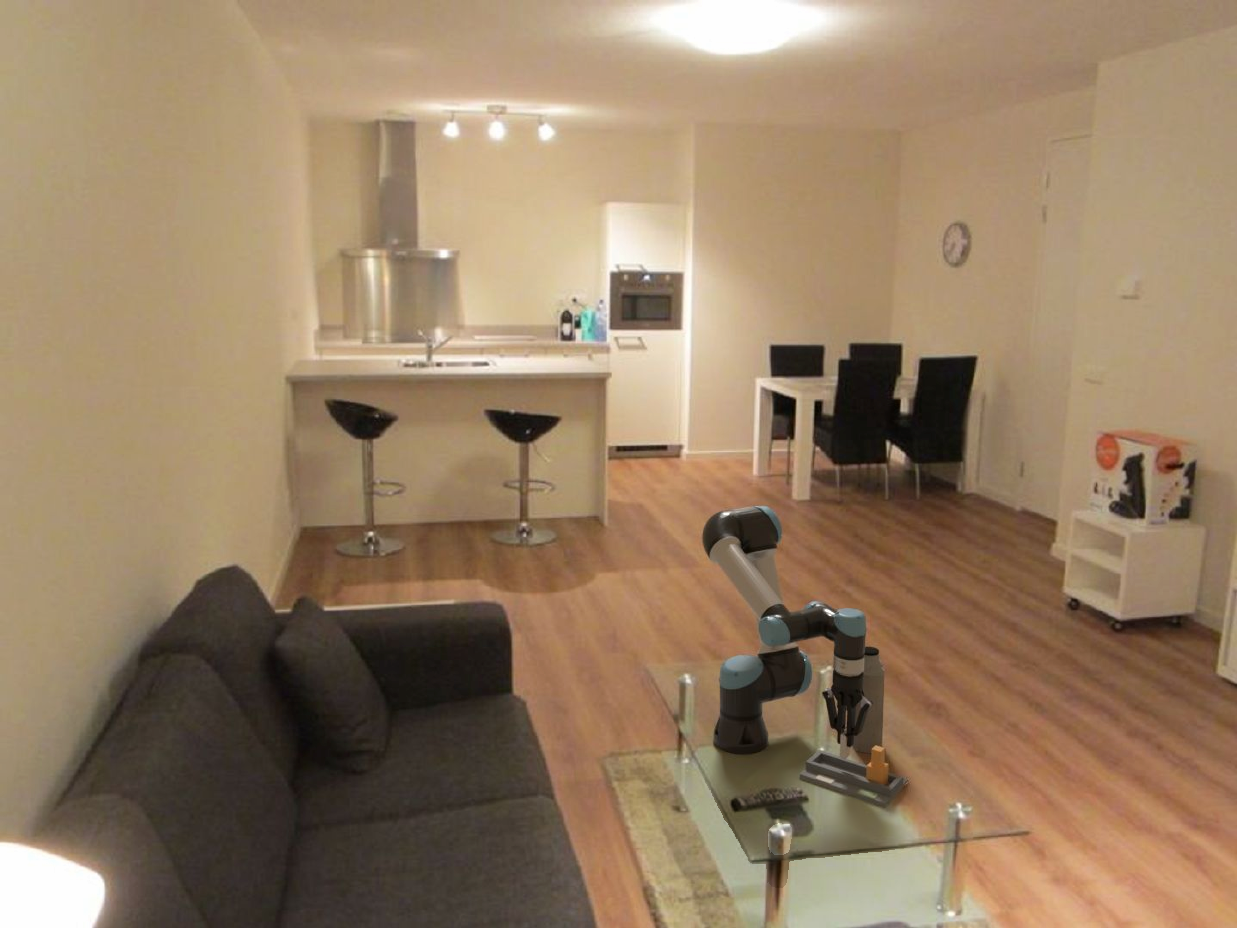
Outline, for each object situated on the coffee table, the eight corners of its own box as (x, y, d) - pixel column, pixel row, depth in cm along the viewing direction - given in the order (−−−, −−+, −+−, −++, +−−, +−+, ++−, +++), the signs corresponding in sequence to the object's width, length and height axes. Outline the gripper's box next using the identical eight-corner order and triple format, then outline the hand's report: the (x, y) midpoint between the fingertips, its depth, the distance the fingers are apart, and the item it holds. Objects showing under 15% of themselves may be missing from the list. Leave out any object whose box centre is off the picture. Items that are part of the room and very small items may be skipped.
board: (799, 778, 243) (799, 766, 242) (824, 756, 254) (825, 745, 253) (884, 807, 229) (885, 795, 228) (907, 783, 239) (908, 771, 239)
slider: (866, 783, 237) (867, 749, 235) (872, 777, 240) (874, 742, 238) (881, 788, 234) (882, 753, 232) (887, 782, 237) (889, 747, 235)
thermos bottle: (881, 739, 262) (884, 644, 256) (883, 754, 254) (886, 655, 249) (851, 737, 263) (853, 642, 258) (852, 751, 256) (855, 654, 250)
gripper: (817, 668, 238) (814, 754, 243) (866, 682, 230) (862, 770, 235) (831, 658, 244) (828, 742, 249) (879, 672, 236) (875, 758, 241)
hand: (844, 756), depth 242 cm, fingers closed
